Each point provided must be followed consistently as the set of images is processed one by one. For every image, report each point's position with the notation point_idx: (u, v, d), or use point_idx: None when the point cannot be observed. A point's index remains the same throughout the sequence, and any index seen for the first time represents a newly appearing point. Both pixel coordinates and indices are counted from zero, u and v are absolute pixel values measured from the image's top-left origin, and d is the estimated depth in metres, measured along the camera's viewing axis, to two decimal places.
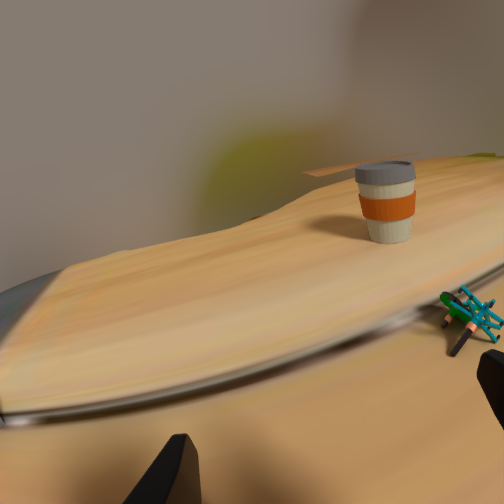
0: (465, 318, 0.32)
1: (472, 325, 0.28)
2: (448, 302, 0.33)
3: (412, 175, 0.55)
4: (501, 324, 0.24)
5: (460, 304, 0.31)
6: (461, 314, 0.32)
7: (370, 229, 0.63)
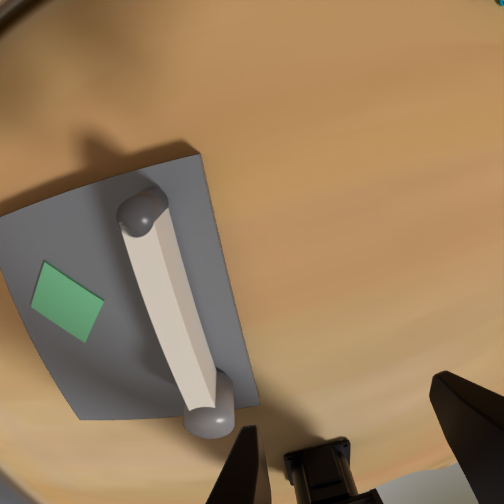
0: None
1: None
2: None
3: None
4: None
5: None
6: None
7: None
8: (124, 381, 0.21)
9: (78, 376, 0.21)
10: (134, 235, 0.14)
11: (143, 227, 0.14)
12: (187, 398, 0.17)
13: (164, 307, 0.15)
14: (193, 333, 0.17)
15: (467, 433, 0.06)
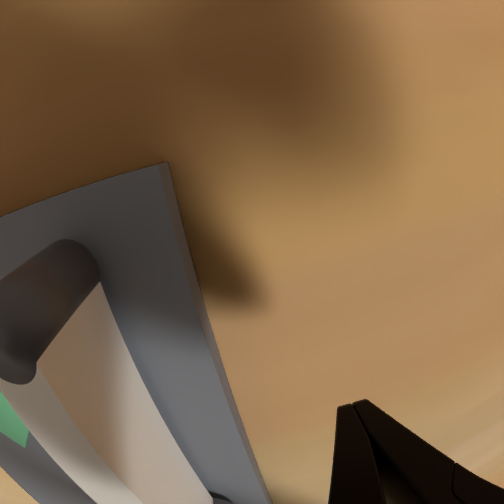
0: None
1: None
2: None
3: None
4: None
5: None
6: None
7: None
8: None
9: (29, 474, 0.12)
10: (10, 380, 0.04)
11: (19, 368, 0.04)
12: None
13: (107, 489, 0.06)
14: (170, 498, 0.07)
15: (378, 471, 0.06)
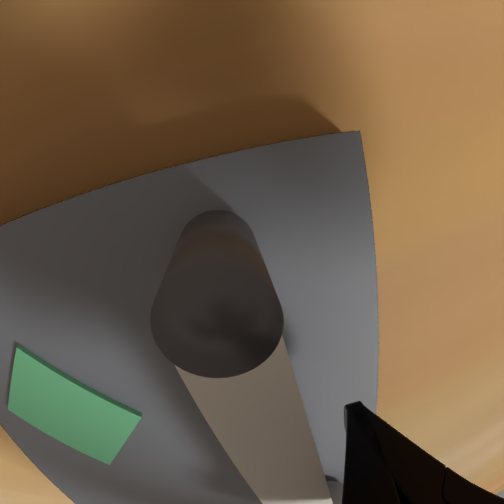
0: None
1: None
2: None
3: None
4: None
5: None
6: None
7: None
8: (176, 502, 0.12)
9: (100, 493, 0.11)
10: (220, 373, 0.05)
11: (247, 350, 0.04)
12: None
13: (293, 483, 0.06)
14: None
15: None
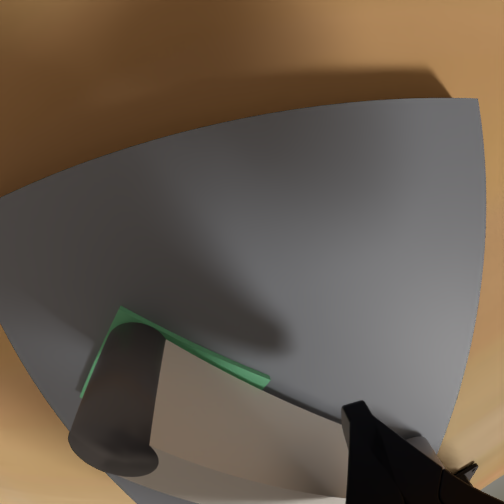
0: None
1: None
2: None
3: None
4: None
5: None
6: None
7: None
8: None
9: None
10: (143, 473, 0.05)
11: (141, 458, 0.05)
12: None
13: None
14: None
15: None
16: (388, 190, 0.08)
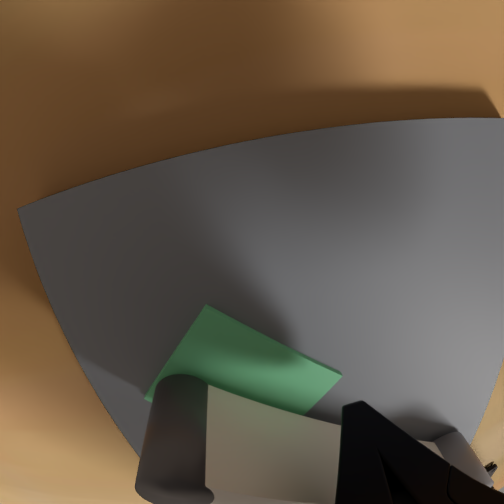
0: None
1: None
2: None
3: None
4: None
5: None
6: None
7: None
8: None
9: None
10: None
11: (199, 495, 0.06)
12: None
13: None
14: None
15: None
16: (455, 200, 0.08)
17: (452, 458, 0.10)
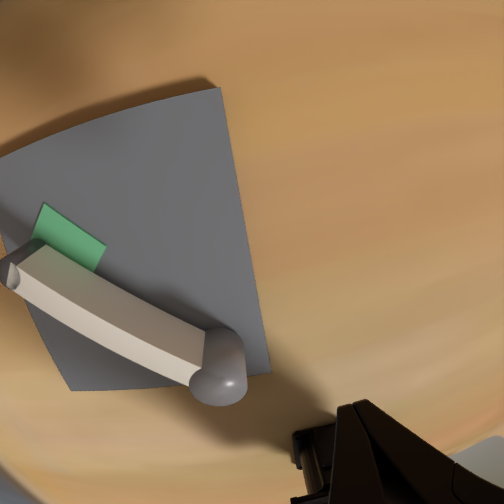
0: None
1: None
2: None
3: None
4: None
5: None
6: None
7: None
8: None
9: (72, 338, 0.19)
10: (18, 284, 0.14)
11: (15, 274, 0.14)
12: (172, 376, 0.16)
13: (74, 315, 0.15)
14: (123, 316, 0.16)
15: (378, 471, 0.06)
16: (154, 146, 0.16)
17: (209, 342, 0.18)
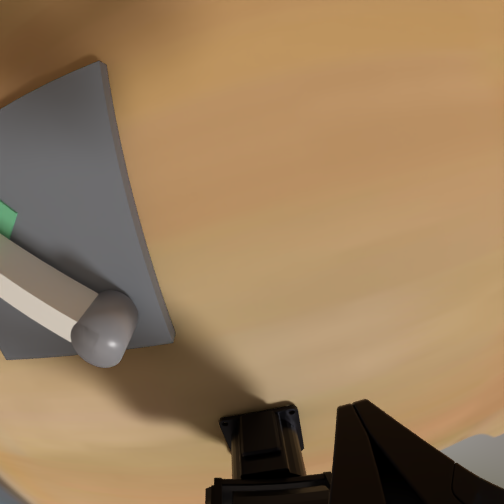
0: None
1: None
2: None
3: None
4: None
5: None
6: None
7: None
8: None
9: (0, 304, 0.19)
10: None
11: None
12: (56, 330, 0.15)
13: None
14: (19, 272, 0.15)
15: (378, 471, 0.06)
16: (48, 120, 0.15)
17: (95, 301, 0.17)
